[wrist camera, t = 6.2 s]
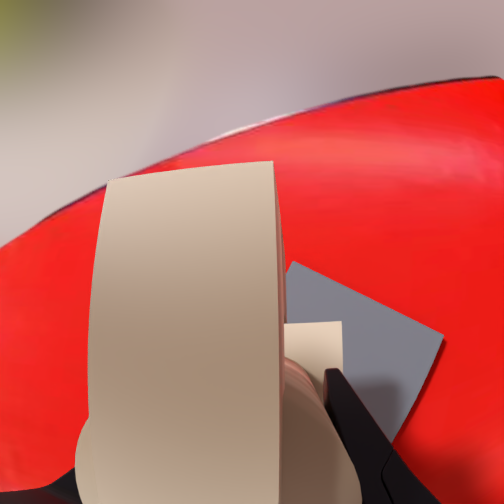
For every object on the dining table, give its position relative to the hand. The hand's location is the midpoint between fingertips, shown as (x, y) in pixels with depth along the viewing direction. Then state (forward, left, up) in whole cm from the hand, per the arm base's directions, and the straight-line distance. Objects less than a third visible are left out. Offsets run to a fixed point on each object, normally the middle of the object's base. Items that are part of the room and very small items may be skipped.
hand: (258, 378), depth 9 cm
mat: (-4, 0, -13) cm, 14 cm away
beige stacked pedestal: (-1, +1, -7) cm, 7 cm away
